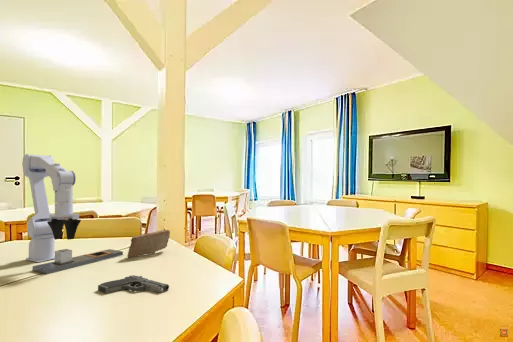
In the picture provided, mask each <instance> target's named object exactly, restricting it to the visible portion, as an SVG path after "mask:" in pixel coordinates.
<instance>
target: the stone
mask: <svg viewBox="0 0 513 342" xmlns="http://www.w3.org/2000/svg"><path fill="white" fill-rule="evenodd" d="M170 237H171V236H170V229H161V230H157V231H156V230H155V231H152V232H148V233H143V234H139V235H135V236H132V237H131V239H130V242H131V243H130V246H129V248H128V251H127V258H128V259H129V258H133V257H139V256H144V255H153V254H155V253H157V252H158V251H161V250H163V249H164V250H165V249H166V248H167V247H168V242H169V239H170Z"/></svg>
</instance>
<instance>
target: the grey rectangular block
mask: <svg viewBox="0 0 513 342" xmlns="http://www.w3.org/2000/svg"><path fill="white" fill-rule="evenodd" d="M54 256H55V259H54V261H55V264H56V265H63V264H68V263H72V257H73V250H72V249H70V248H63V249H59V250H54Z"/></svg>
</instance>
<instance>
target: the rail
mask: <svg viewBox="0 0 513 342" xmlns="http://www.w3.org/2000/svg"><path fill="white" fill-rule="evenodd" d="M123 255H124V251H121V250H116V249H110V248H109V249H104V250H100V251H95V252H92V253H87V254H86V253H85V254H82V255H77V256H72V263H68V264H63V265H56V264H55V260H54V261H50V262H46V263H41V264H37V265H33V266H32V269H31V270H32V272H37V273H40V274H44V275H49V274H53V273H57V272H60V271H65V270H68V269H73V268H76V267H77V268H78V267H80V266H84V265H89V264H93V263H96V262H101V261H105V260H108V259H112V258H116V257H121V256H123Z"/></svg>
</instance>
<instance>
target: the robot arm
mask: <svg viewBox="0 0 513 342" xmlns="http://www.w3.org/2000/svg"><path fill="white" fill-rule="evenodd" d="M21 162H22V165H21V166H22V169H23V170H22V172H23V173H24V174H23V175H24V176H25V177H26V178H28V180H29V186H30V191H31V192H30V193H31V197H32V204H33V205H32V206H33V211H34V215H33V216H32V217H30V218H29V220H28V221H27V235H28V237H30V238H31V239H30V241H29V242H28V257H26V258H25V260H27V261H31V262H34V263H35V262H36V263H42V262H45V261H46V262H47V261H49V260H51V261H52V260H55V243H56V242H55V240H61V239H62V236H63V227H65V234H66V239H67V240H68V241H69V240H73V239H75V237H76V232H77V229H78V227H79V226H80V224H81V221H82V220H81V219H80V213H74V206H73V204H74V198H73V196H74V193H73V188H74V187H73V186H74V185H75V184H76V179H77V177H76V173H75V172H74V170H66V168H64V167H63V166H62V165H61V163H60V162H59V163H58V162H55V159H54V157H53V156H52V155H43V154H42V155H41V154H29V153H26V154H25V155H23V157H22V161H21ZM48 177H49V178H50V179H51V184H52V191H54V213H52V212H50V209H49V208H50V207H49V202H48V198H47V190H46V186H45V180H44V179H45V178H48Z"/></svg>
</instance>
